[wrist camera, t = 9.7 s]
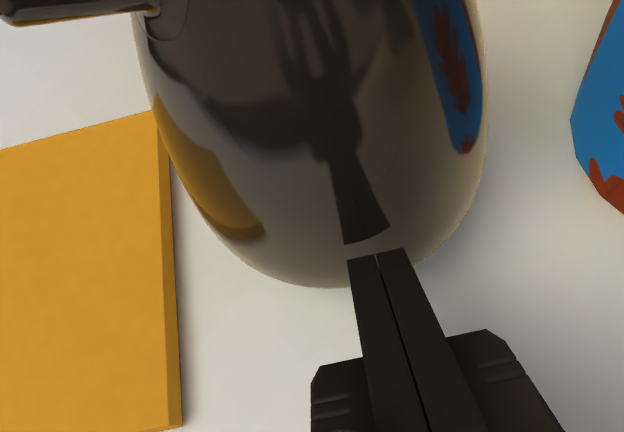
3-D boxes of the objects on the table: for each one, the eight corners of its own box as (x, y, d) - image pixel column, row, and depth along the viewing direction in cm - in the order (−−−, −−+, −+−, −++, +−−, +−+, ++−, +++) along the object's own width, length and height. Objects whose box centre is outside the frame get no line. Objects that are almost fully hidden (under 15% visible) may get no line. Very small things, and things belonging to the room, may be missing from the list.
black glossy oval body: (184, 194, 22) (-158, -191, 9) (359, 63, 24) (295, -444, 10) (321, 376, 18) (58, 164, 4) (527, 203, 19) (799, -360, 6)
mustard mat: (183, 426, 18) (169, 425, 17) (-64, 477, 19) (-92, 478, 18) (167, 123, 24) (156, 108, 23) (-18, 171, 25) (-37, 159, 24)
